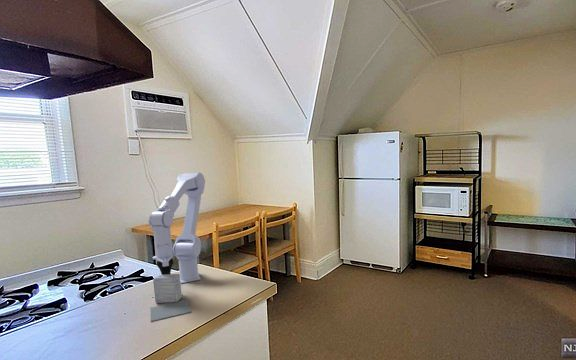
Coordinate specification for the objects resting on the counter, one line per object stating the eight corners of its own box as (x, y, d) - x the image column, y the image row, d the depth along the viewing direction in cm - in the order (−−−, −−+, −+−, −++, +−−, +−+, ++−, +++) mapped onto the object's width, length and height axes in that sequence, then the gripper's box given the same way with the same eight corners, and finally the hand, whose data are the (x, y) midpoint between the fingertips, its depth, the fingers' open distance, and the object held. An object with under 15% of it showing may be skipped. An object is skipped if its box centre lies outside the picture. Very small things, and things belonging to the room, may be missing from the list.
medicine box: (182, 297, 116) (180, 273, 116) (176, 302, 112) (174, 277, 112) (161, 298, 117) (159, 274, 117) (155, 303, 113) (152, 278, 112)
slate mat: (150, 308, 109) (150, 307, 109) (187, 300, 114) (187, 299, 114) (150, 321, 100) (150, 320, 100) (191, 312, 105) (191, 311, 105)
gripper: (151, 240, 124) (154, 275, 125) (151, 250, 111) (155, 289, 112) (170, 238, 127) (173, 272, 128) (173, 246, 113) (176, 284, 115)
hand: (166, 279), depth 120 cm, fingers closed
